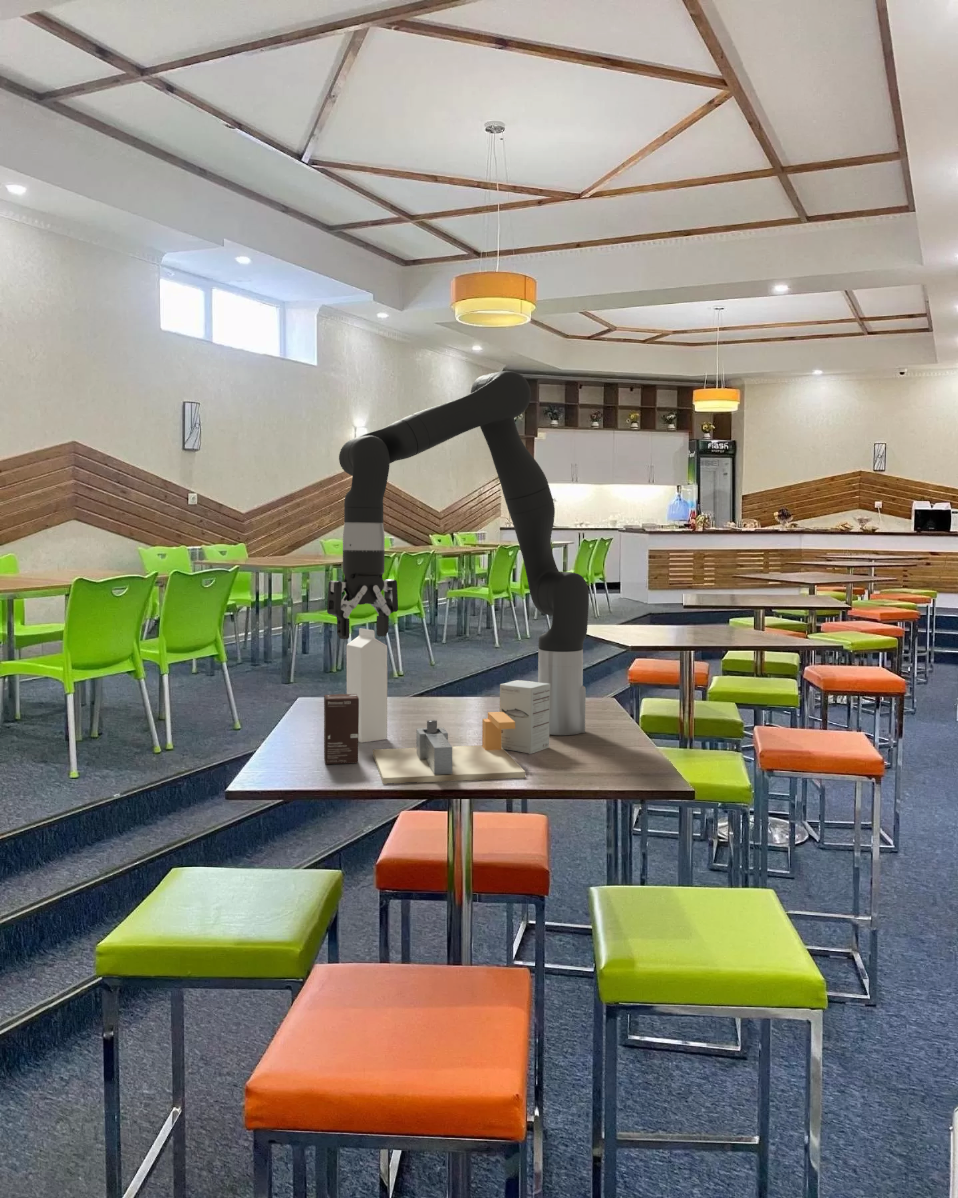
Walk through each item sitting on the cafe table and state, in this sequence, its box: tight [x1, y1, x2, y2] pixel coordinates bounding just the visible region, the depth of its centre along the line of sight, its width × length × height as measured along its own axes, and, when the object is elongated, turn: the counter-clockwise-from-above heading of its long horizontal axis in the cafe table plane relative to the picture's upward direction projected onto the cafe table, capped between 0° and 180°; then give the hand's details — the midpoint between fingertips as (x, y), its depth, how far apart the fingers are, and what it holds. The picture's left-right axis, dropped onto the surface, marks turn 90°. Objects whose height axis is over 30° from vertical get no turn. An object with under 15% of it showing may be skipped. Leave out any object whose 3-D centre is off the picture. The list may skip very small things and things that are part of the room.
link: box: [415, 727, 453, 775], centre depth 166 cm, size 16×5×4 cm, turn 11°
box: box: [323, 693, 359, 765], centre depth 171 cm, size 6×4×12 cm
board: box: [372, 744, 526, 785], centre depth 169 cm, size 24×21×1 cm
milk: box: [346, 627, 388, 744], centre depth 190 cm, size 6×6×22 cm
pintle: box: [426, 719, 438, 733], centre depth 171 cm, size 4×4×8 cm
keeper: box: [481, 711, 515, 750], centre depth 175 cm, size 4×10×8 cm, turn 11°
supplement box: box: [498, 679, 550, 755], centre depth 183 cm, size 7×7×13 cm
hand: (363, 637), depth 174 cm, fingers open, 8 cm apart
